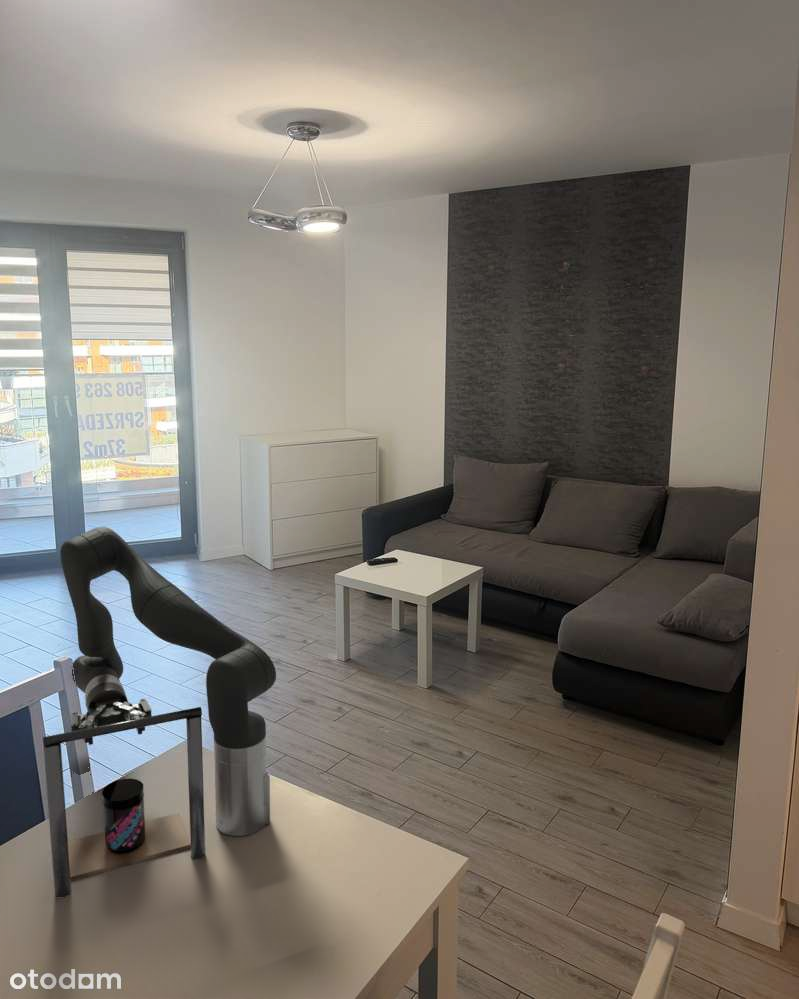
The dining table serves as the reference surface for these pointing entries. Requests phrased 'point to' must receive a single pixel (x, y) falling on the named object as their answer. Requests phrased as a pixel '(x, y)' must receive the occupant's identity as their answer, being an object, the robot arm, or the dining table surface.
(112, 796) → the supplement container
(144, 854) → the walnut board
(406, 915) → the dining table surface
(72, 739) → the frame
